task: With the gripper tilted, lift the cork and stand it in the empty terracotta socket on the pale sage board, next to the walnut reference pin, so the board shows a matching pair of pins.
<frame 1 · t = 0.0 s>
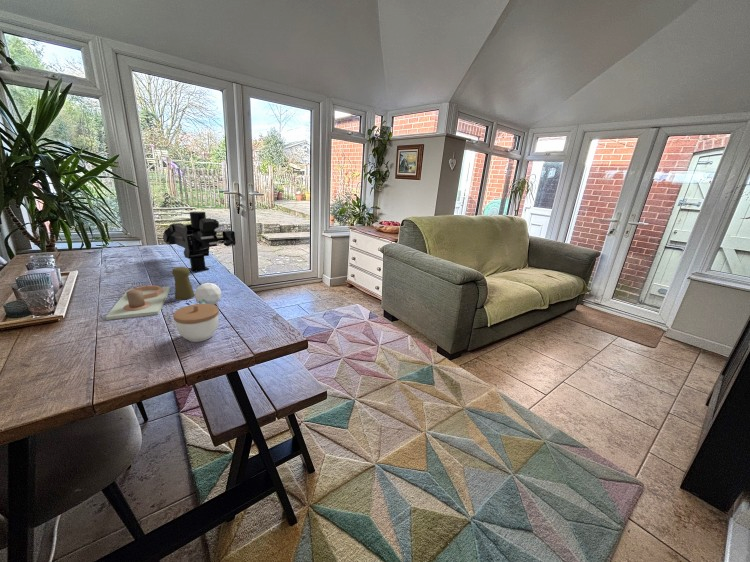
hand: (221, 244, 118), 17 cm above the table, fingers open, 9 cm apart
faceted white bauble: (207, 307, 102), on the table
lidded jar: (200, 337, 84), on the table
pin board: (146, 296, 107), on the table
cork: (184, 297, 109), on the table
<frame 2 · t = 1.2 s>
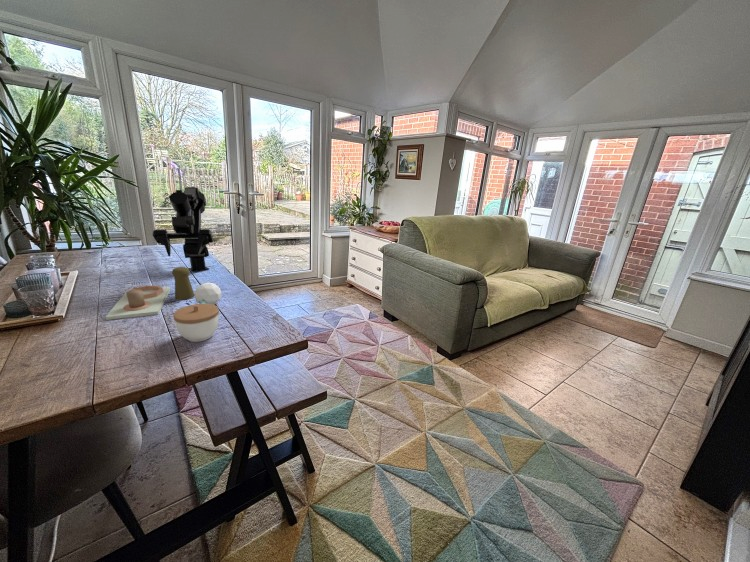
hand: (183, 255, 111), 13 cm above the table, fingers open, 9 cm apart
nothing on the table moved.
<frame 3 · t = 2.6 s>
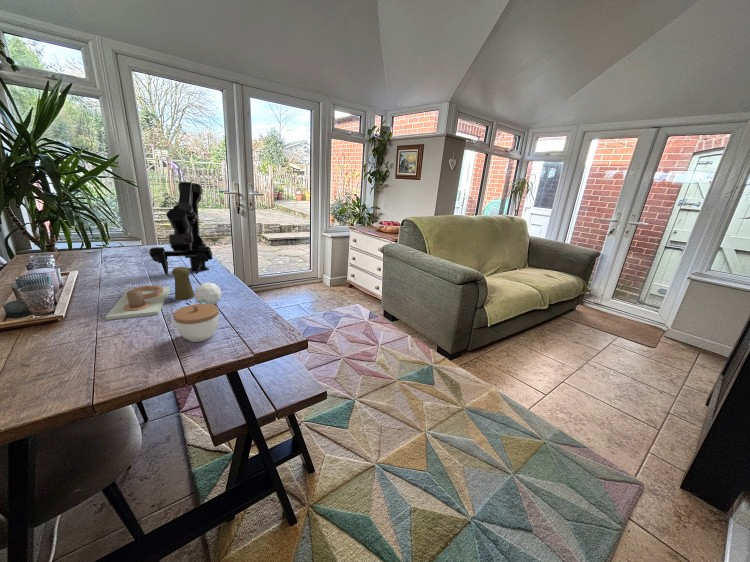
hand: (181, 274, 106), 8 cm above the table, fingers open, 9 cm apart
nothing on the table moved.
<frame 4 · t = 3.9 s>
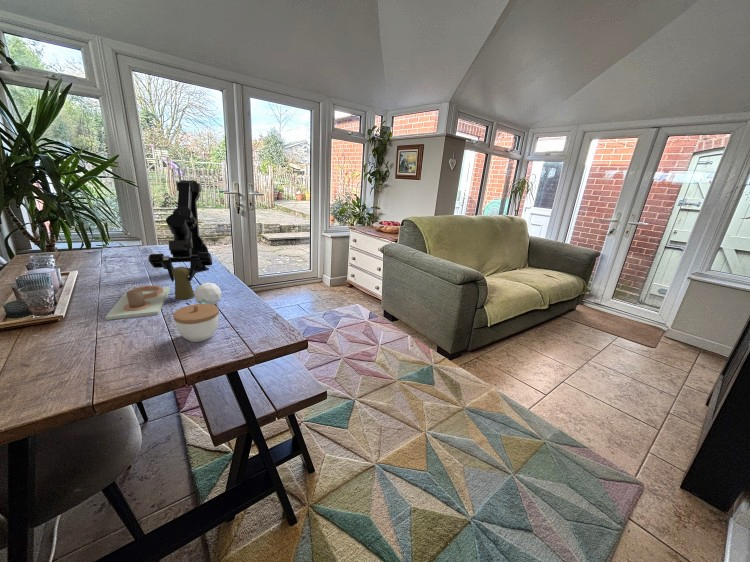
hand: (181, 280, 105), 7 cm above the table, fingers closed on cork, 5 cm apart
cork: (185, 297, 109), on the table, touching gripper
everything else where it was.
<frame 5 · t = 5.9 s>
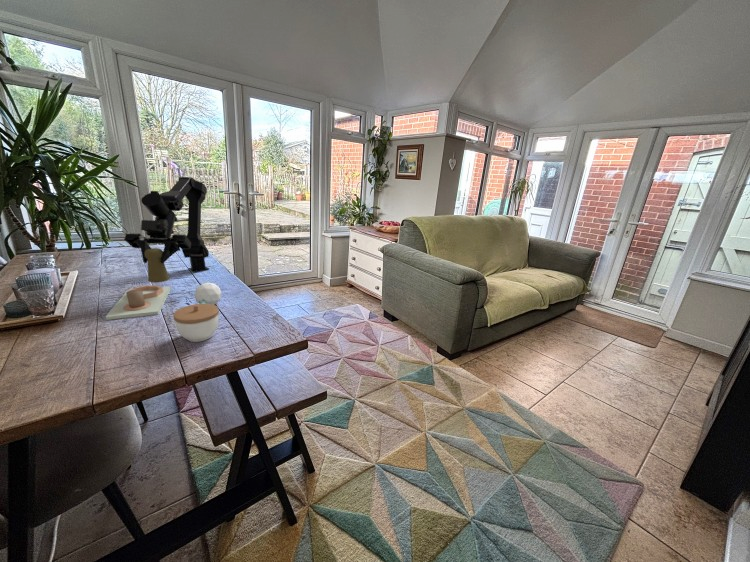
hand: (153, 262, 101), 13 cm above the table, fingers closed on cork, 5 cm apart
cork: (159, 280, 105), point 6 cm above the table, touching gripper
everything else where it was.
when the fingers open (8 cm above the table, at t = 8.4 s): cork stays where it is, resting on pin board.
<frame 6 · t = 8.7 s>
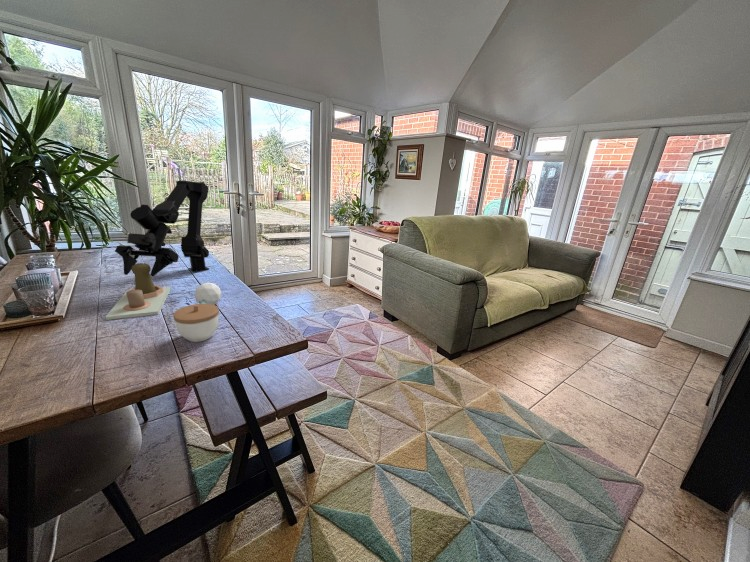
hand: (138, 275, 102), 9 cm above the table, fingers open, 9 cm apart
cork: (146, 294, 107), point 1 cm above the table, touching pin board
everything else where it was.
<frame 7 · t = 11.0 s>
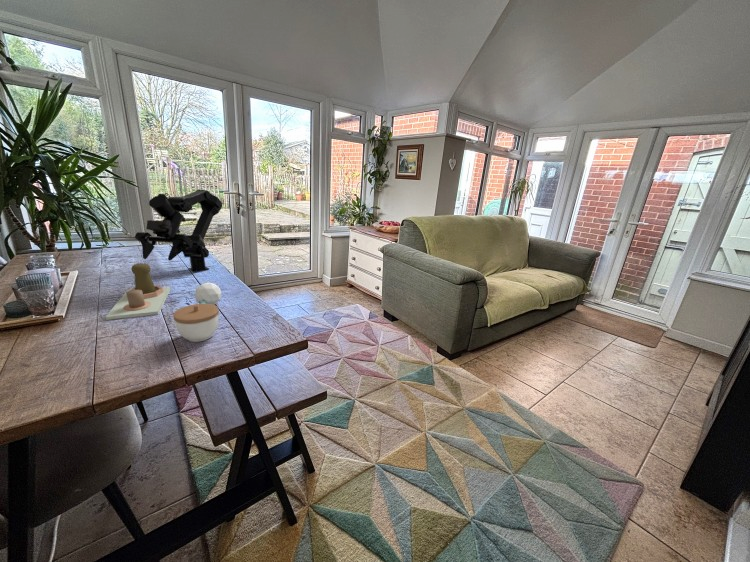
hand: (156, 259, 110), 12 cm above the table, fingers open, 9 cm apart
nothing on the table moved.
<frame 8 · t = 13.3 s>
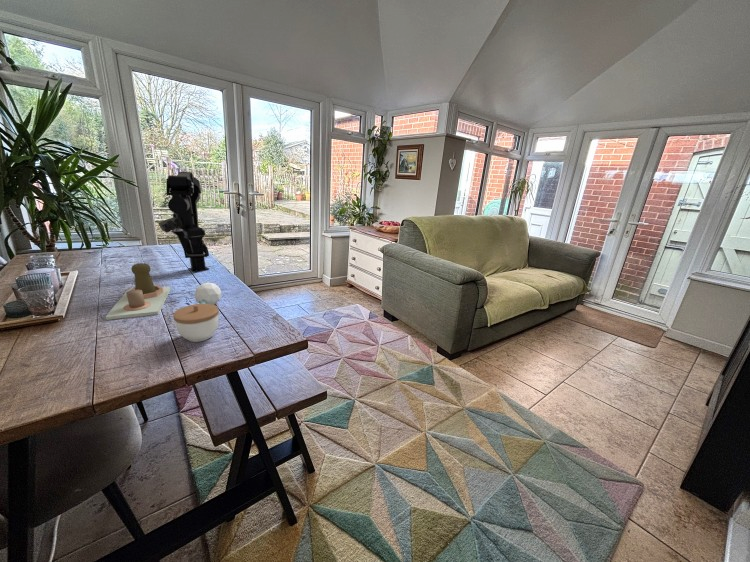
hand: (189, 250, 119), 13 cm above the table, fingers open, 9 cm apart
nothing on the table moved.
at the end: cork 0.2 cm off-centre on the pin board, point 0.8 cm above the pin board's base; cork tilted 0°; the gripper is holding nothing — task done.
